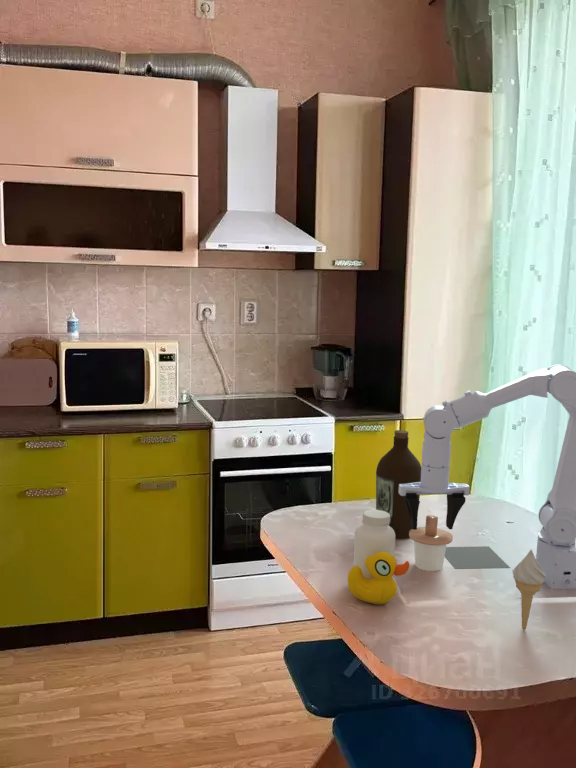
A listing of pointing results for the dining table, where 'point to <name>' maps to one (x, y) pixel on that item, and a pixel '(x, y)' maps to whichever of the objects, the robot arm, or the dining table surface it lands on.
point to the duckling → (376, 578)
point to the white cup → (429, 556)
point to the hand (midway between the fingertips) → (431, 527)
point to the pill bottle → (372, 538)
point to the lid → (431, 533)
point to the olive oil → (396, 483)
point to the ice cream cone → (528, 583)
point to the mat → (474, 558)
